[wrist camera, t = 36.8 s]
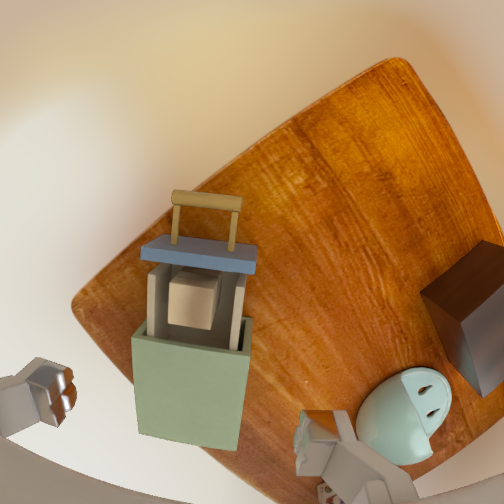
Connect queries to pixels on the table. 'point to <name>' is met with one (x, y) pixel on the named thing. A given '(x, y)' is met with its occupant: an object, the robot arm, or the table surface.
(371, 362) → the table surface
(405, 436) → the planter
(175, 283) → the block
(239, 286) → the drawer
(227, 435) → the cabinet
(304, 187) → the table surface
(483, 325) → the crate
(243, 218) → the table surface
